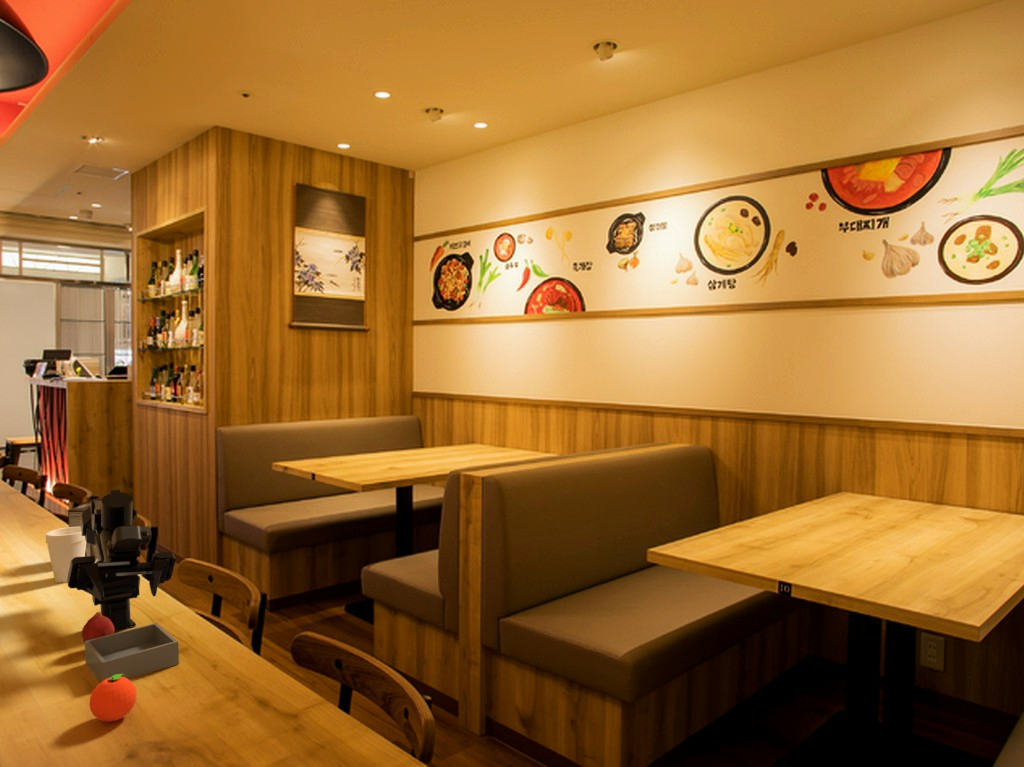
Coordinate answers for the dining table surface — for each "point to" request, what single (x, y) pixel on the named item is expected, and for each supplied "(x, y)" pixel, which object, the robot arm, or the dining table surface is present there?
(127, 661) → the bin
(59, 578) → the foam cup
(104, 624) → the onion
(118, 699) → the clementine
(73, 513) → the coffee box
